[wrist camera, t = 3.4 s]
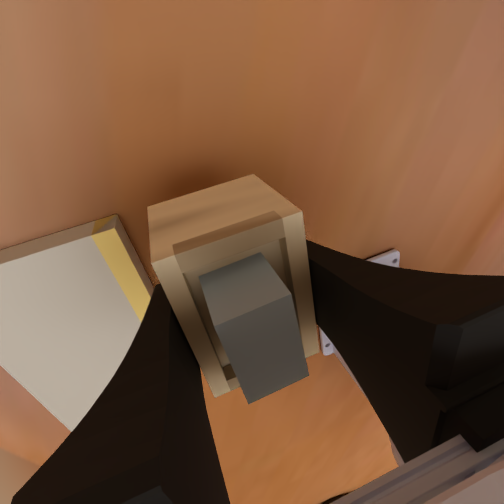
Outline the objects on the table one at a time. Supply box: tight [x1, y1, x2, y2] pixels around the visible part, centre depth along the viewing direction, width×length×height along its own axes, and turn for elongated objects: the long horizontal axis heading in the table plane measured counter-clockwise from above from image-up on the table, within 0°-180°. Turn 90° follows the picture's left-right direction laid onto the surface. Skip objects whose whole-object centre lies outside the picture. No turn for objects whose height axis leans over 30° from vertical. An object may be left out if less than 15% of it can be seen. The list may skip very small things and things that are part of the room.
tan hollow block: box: [147, 174, 319, 398], centre depth 11 cm, size 6×4×4 cm
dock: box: [0, 214, 154, 432], centre depth 19 cm, size 14×9×2 cm, turn 12°
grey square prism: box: [198, 252, 309, 404], centre depth 9 cm, size 3×2×2 cm, turn 14°
